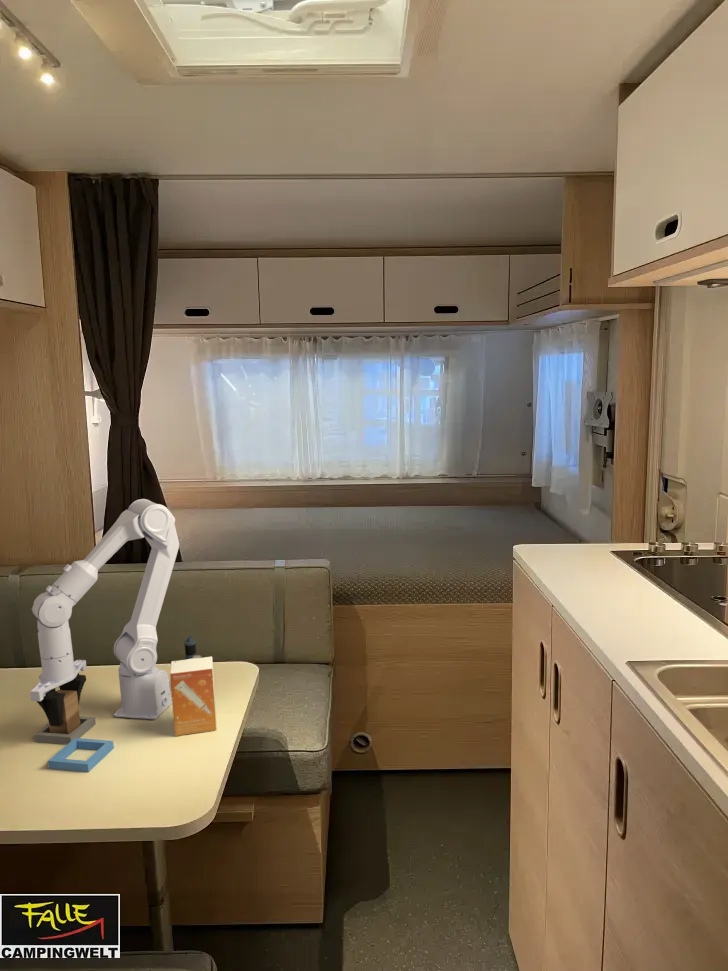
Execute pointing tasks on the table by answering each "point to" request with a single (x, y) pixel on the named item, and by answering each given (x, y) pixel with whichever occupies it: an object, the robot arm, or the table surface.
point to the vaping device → (190, 649)
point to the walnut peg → (68, 714)
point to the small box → (193, 695)
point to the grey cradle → (48, 737)
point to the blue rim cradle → (79, 765)
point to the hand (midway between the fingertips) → (64, 719)
